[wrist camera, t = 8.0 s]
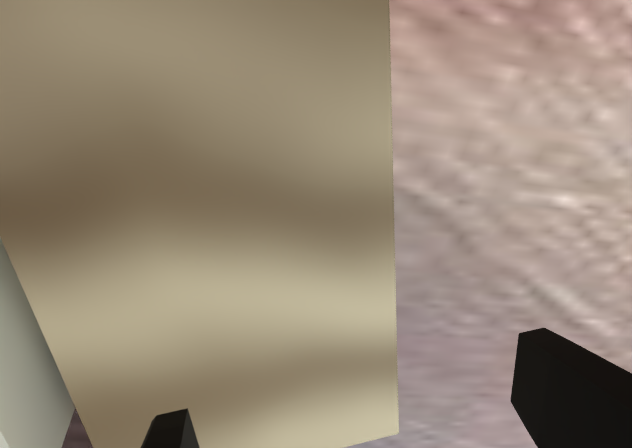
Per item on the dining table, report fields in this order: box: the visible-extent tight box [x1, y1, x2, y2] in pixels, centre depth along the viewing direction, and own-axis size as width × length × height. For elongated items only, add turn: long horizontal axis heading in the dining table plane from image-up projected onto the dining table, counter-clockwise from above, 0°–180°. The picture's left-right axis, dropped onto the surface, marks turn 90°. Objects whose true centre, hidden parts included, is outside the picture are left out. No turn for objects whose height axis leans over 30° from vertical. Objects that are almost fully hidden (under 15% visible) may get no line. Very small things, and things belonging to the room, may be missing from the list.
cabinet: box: [0, 0, 399, 448], centre depth 15 cm, size 20×15×6 cm
